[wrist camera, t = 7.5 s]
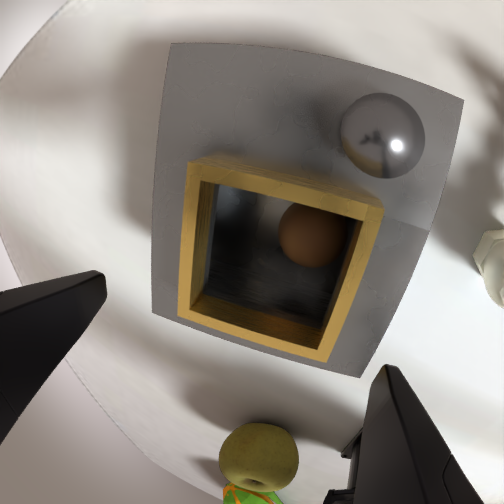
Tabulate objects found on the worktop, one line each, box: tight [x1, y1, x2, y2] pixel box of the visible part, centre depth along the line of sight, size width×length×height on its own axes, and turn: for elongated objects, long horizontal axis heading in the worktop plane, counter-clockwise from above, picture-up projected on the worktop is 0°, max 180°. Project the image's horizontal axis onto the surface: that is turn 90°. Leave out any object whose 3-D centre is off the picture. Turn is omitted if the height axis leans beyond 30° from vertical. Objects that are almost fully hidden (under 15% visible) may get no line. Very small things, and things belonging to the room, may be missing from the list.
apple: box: [219, 423, 299, 492], centre depth 26 cm, size 8×8×7 cm
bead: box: [278, 202, 348, 268], centre depth 17 cm, size 4×4×4 cm
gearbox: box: [151, 43, 464, 378], centre depth 15 cm, size 14×12×8 cm
